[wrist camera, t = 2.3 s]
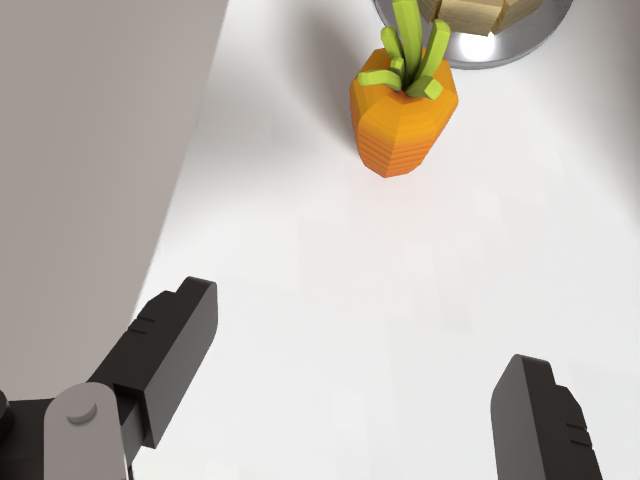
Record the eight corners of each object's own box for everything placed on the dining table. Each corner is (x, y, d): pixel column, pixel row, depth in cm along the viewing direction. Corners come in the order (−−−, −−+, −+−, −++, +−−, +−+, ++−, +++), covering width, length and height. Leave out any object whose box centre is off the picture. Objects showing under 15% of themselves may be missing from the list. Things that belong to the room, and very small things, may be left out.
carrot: (416, 209, 30) (482, 104, 15) (342, 196, 30) (336, 81, 16) (428, 139, 31) (502, -27, 16) (356, 127, 31) (362, -45, 16)
